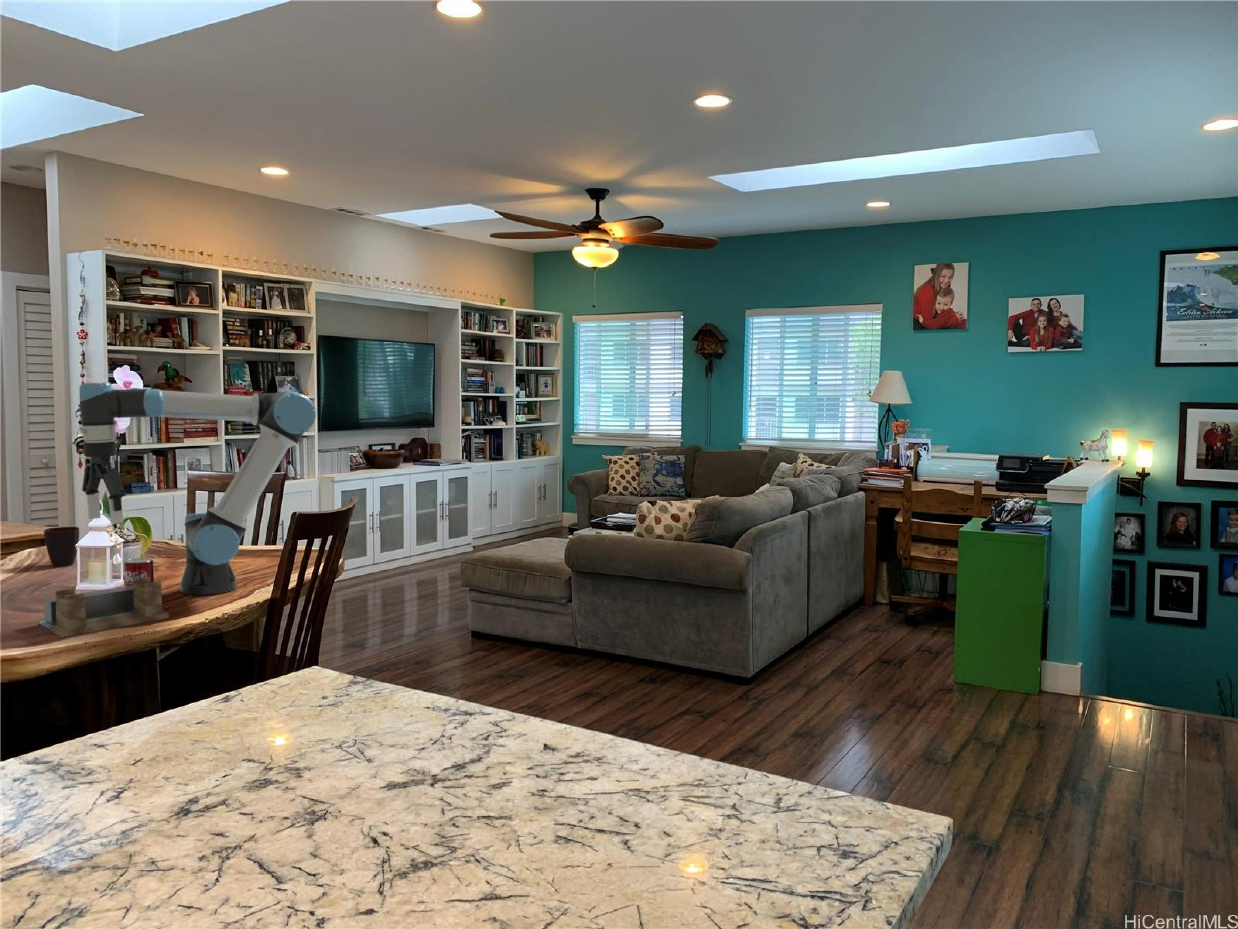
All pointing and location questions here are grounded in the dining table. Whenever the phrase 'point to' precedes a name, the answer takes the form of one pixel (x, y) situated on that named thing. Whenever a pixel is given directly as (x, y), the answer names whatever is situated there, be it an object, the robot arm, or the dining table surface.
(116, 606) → the rail
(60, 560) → the cup
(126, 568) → the soda can
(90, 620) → the stand
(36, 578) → the dining table surface
